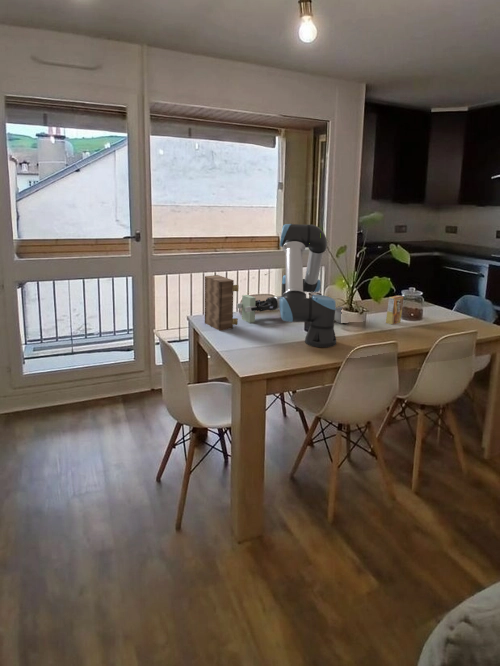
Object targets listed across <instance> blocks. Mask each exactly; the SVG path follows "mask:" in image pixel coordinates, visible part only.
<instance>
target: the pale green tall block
mask: <svg viewBox="0 0 500 666" xmlns="http://www.w3.org/2000/svg"><path fill="white" fill-rule="evenodd" d="M256 300H257V299H256V297H255V296H252V295H249V294H243V295H242V297H241V303H242V308H241V320H242V321H244V322H247V323H249V324H252V323H255V322H256V311H251V312H245V307H250V306H255V301H256Z"/></svg>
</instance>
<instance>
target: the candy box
mask: <svg viewBox="0 0 500 666" xmlns="http://www.w3.org/2000/svg"><path fill="white" fill-rule="evenodd" d="M387 302H388V303H387V311H386V319H385V323H386V324H388V325H395V324H399V323H401V319H402V312H403V307H404V306H403V305H404V296H403V295H394V296H389V297H388V301H387Z"/></svg>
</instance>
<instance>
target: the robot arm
mask: <svg viewBox="0 0 500 666" xmlns="http://www.w3.org/2000/svg"><path fill="white" fill-rule="evenodd" d="M320 233H321V238H320ZM309 243H310V244H309ZM279 247H281V248H282V251H283V252H284V253H285V274H284V275H283V276H282V281H281V295H280V296H279V295H278V296H271V297H267V298H266V299H265V300H261V299H256V301H255V306H250V307H245V312H251V311H255V312H265V311H270V312H272V311H279V312H280V318H281V320H282V322H283V321H284V322H290V323H293V322H294V323H309V328H308V330H307V333H306V336H305V339H304V342H305V344H306V345H308V346H311V347H314V348H332V347H335V346H336V345H337V336H336V333H335V328H334V327H335V310H336V308H337V307H336V304H337V303H336V300H335V299H334V298H332V297H330V296H328V295H323V294H312V296H311V297H307V294H306V293H319V292H320V290H321V284H322V282H321V279H319V277H320V273H321V272H320V271H321V268H322V267H321V266H322V261H323V257H324V253H325V252H326V250H327V247H328V239H327V236H326V234H325V232H324V231H323V230H322V229H321V228H320V227H319V226H317V225H315V224H304V223H303V224H297V223H295V224H294V223H285V224H283V226H282V228H281V233H280V242H279ZM306 248H307V249H308V257H307V264H306V270H305V275H303V274H304V271H303V269H304V265H303V264H304V263H303V258H304V257H303V256H304V255H303V253H304V252H305V250H306ZM236 309H237V310H238V309H242V302H237V303H236Z"/></svg>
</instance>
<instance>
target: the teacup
mask: <svg viewBox="0 0 500 666" xmlns="http://www.w3.org/2000/svg"><path fill="white" fill-rule="evenodd" d="M343 307H344V306H337V307H336V310H335V319H334V322H337V323H338V324H340V323H341V314H342V312H341V310H342V308H343Z"/></svg>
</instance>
